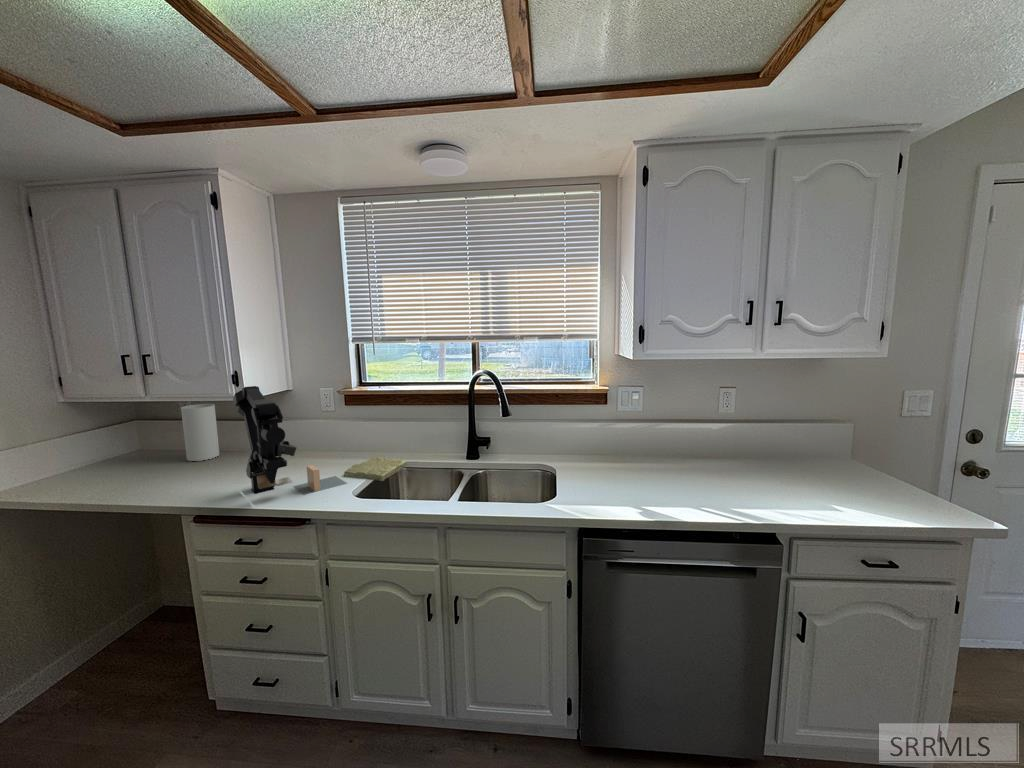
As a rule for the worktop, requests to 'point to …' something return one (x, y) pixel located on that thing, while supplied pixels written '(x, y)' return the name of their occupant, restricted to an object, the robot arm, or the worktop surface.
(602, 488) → the worktop surface
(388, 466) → the decorative tile
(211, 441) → the cylinder vase
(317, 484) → the terracotta tile
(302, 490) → the slate mat
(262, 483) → the grey-capped brown block
